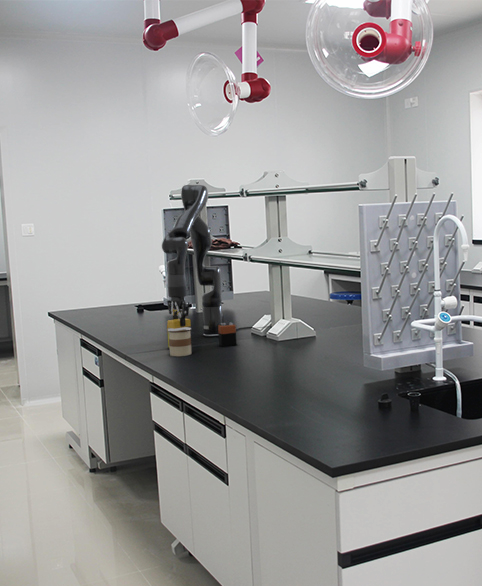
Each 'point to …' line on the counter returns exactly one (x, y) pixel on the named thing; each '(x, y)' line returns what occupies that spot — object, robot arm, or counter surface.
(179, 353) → the striped brown canister
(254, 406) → the counter surface
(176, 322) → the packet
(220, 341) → the battery
